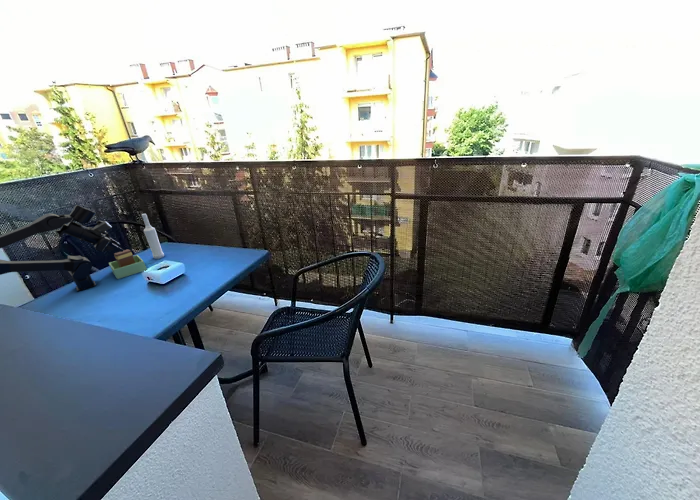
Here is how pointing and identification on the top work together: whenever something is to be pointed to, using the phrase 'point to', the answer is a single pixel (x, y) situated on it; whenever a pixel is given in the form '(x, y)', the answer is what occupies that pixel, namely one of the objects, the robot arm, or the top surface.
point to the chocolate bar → (124, 258)
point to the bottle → (152, 239)
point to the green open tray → (128, 268)
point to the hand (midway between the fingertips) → (121, 248)
